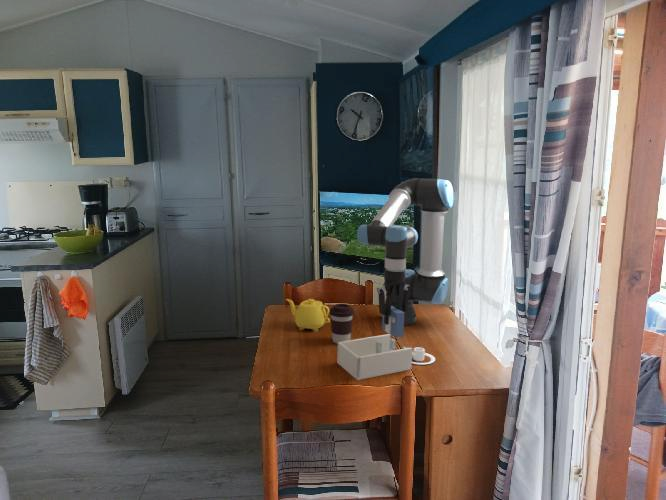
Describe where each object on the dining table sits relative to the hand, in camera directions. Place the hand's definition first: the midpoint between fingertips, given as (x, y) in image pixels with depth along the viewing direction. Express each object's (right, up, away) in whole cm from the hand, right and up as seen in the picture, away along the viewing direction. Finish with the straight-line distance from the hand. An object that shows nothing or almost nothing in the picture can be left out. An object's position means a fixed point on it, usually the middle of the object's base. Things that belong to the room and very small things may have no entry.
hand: (392, 331), depth 200 cm
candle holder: (+11, -12, +7) cm, 17 cm away
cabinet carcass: (-7, -12, 0) cm, 14 cm away
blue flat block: (0, 0, 0) cm, 0 cm away
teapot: (-33, -4, +40) cm, 51 cm away
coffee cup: (-18, -8, +23) cm, 31 cm away
